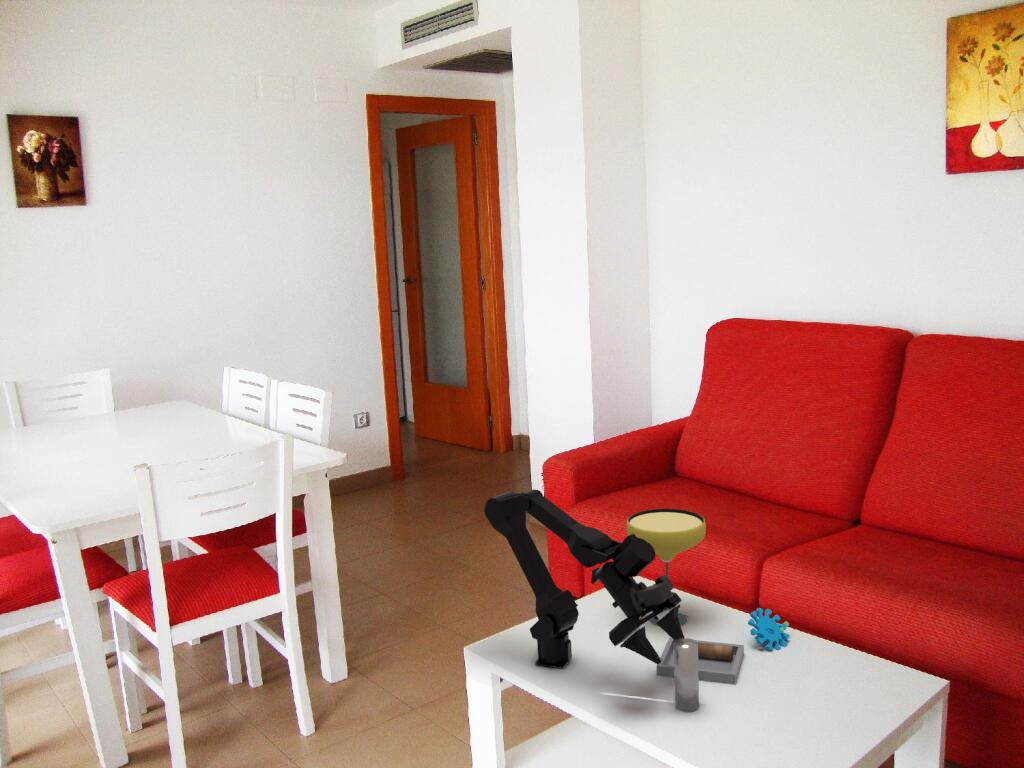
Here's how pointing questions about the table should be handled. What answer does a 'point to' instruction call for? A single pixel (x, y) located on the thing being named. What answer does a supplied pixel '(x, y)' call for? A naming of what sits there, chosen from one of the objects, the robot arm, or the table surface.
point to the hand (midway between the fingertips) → (672, 654)
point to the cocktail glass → (668, 534)
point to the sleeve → (686, 675)
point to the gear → (768, 629)
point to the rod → (715, 651)
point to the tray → (705, 664)
